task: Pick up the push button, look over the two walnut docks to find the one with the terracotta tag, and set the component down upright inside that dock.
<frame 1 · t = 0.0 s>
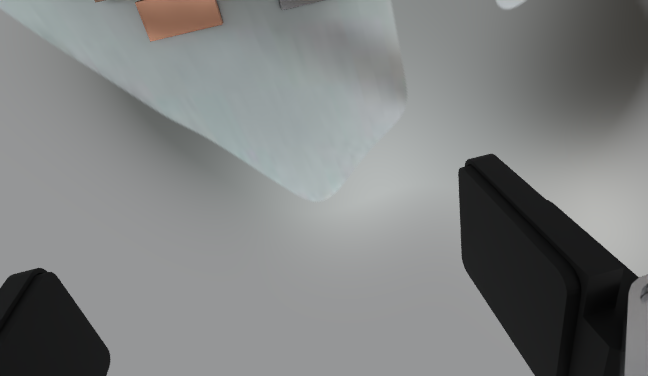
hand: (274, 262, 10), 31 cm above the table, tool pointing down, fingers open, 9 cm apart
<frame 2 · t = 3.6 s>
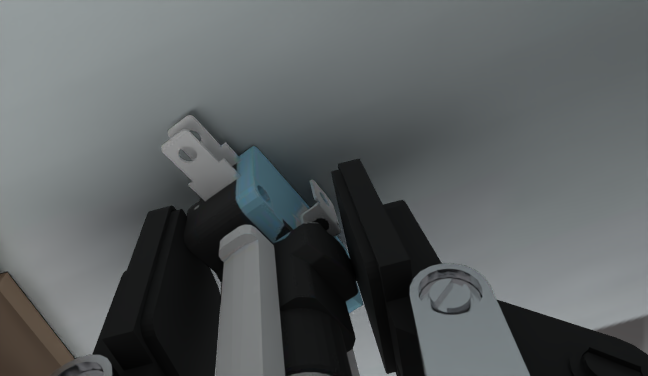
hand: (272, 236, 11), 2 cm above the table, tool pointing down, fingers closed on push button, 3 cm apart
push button: (266, 196, 13), on the table, touching gripper
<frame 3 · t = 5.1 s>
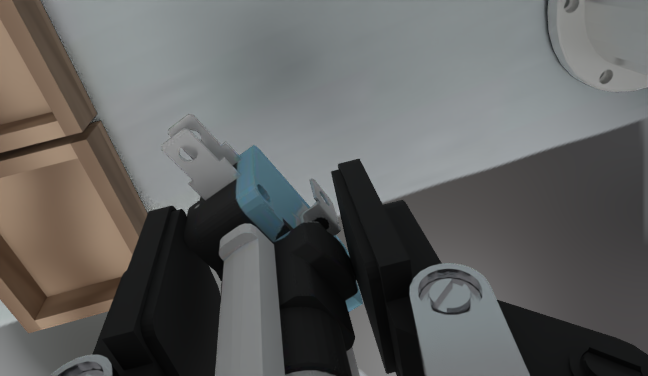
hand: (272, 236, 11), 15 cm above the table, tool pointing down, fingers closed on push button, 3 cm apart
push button: (266, 196, 13), point 13 cm above the table, touching gripper
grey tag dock: (69, 220, 26), on the table
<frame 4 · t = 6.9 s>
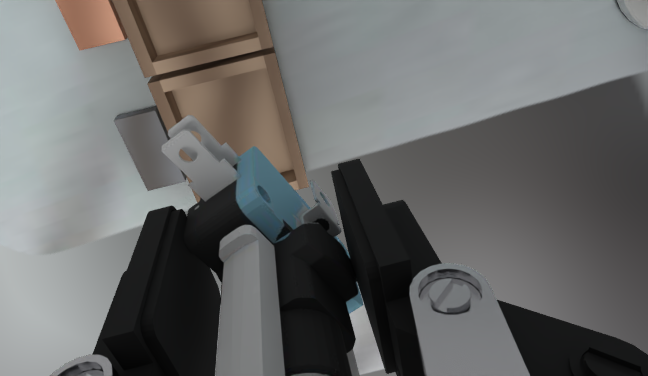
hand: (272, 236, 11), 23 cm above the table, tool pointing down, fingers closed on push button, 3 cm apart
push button: (266, 197, 13), point 21 cm above the table, touching gripper
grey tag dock: (236, 126, 33), on the table
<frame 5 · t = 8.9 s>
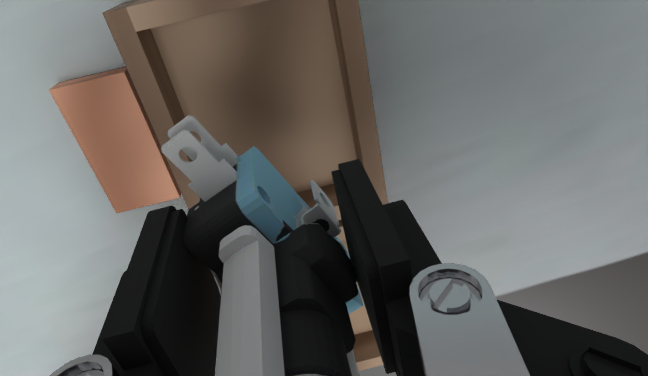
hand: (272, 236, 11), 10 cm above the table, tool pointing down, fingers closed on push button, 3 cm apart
terracotta tag dock: (266, 104, 20), on the table
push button: (266, 197, 13), point 8 cm above the table, touching gripper
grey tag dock: (316, 281, 25), on the table
when the fingers open (4 cm above the table, at t = 10.2 s): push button drops 2 cm, resting on terracotta tag dock.
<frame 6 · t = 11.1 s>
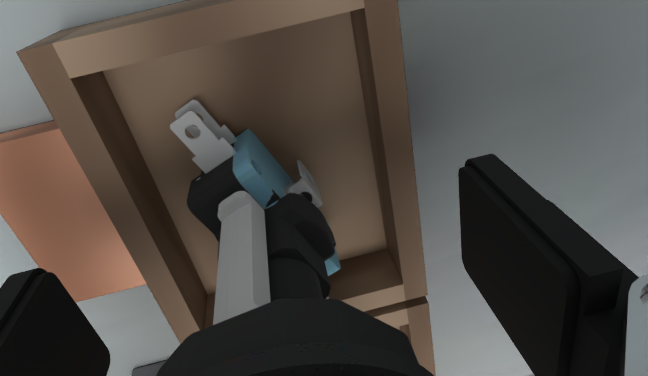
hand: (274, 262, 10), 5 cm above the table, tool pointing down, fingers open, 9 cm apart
terracotta tag dock: (266, 161, 15), on the table
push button: (258, 175, 14), resting on terracotta tag dock
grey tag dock: (328, 365, 20), on the table
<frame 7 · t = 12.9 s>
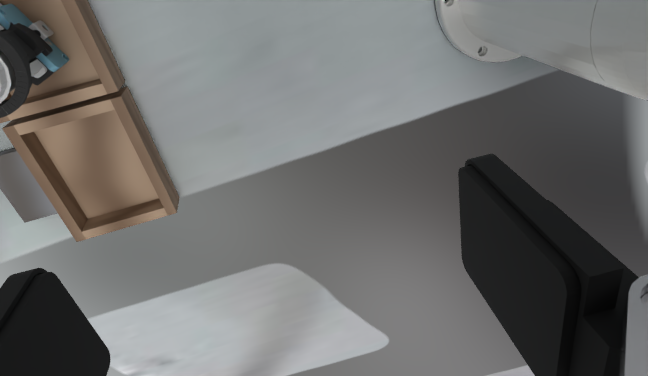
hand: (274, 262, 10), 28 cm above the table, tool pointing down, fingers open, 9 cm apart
terracotta tag dock: (31, 25, 30), on the table
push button: (26, 31, 30), resting on terracotta tag dock
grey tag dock: (104, 160, 36), on the table
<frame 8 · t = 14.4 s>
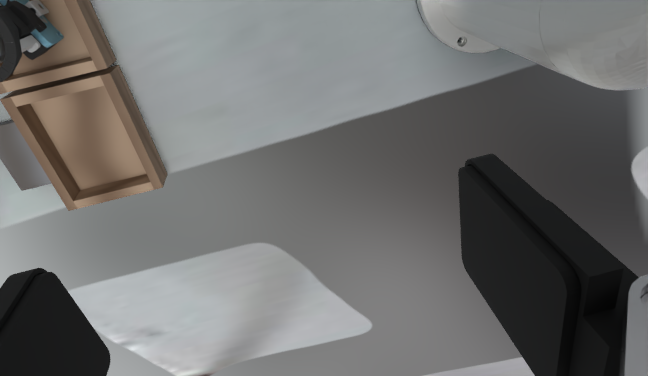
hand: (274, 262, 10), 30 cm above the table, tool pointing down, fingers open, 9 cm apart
terracotta tag dock: (29, 4, 33), on the table
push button: (24, 9, 32), resting on terracotta tag dock
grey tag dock: (97, 134, 38), on the table
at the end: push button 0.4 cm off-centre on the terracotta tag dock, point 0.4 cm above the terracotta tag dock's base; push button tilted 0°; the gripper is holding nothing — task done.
